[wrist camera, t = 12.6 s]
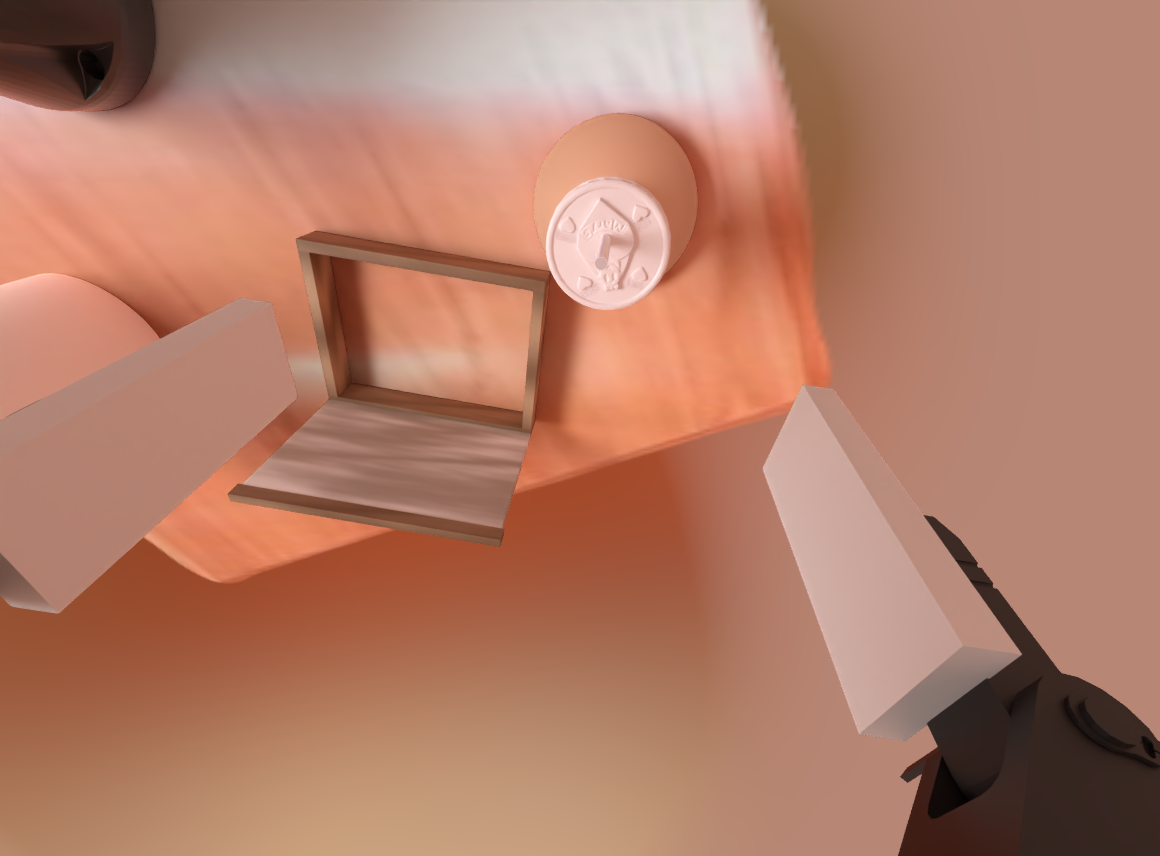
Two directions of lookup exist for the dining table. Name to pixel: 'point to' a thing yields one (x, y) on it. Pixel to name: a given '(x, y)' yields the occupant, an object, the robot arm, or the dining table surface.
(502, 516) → the box
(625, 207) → the smoothie
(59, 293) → the canister
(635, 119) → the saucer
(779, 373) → the dining table surface
